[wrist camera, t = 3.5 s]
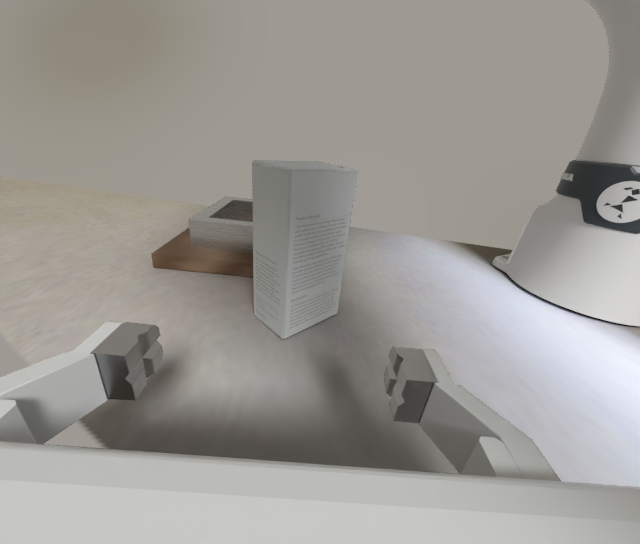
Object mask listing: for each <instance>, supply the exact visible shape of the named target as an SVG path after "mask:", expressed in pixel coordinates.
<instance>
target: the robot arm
mask: <svg viewBox="0 0 640 544" xmlns="http://www.w3.org/2000/svg"><path fill="white" fill-rule="evenodd" d="M586 1H587V2H589V3H590V5H591V6H592V7H593V8H594V9H595V10H596V12H597V13H598V15H599V17H600V18H601V20H602V22H603V25H604V27H605V30H606V34H607V38H608V44H609V67H608V73H607V79H606V82H605V86H604V90H603V93H602V96H601V98H600V102H599V104H598V107H597V110H596V113H595V115H594V118H593V120H592V123H591V125H590V128H589V130H588V133H587V135H586V137H585V140H584V142H583V144H582V147H581V149H580V151H579V153H578V155H577V157H576V160H581V161H576V160H575V161H574V160H573V161H571V162H570V163H569V165H568V166H567V169H566V170H565V172H563V175H562V176H561V181H560V183H559V185H558V187H557V190H556V191H557V192H558V195H557V196H556V197H555V198H553V199H552V200H551V201H549V202H548V203H546V204H544V205H541V206H539V207H537V208H534V209H533V210H532V211H531V213H530V215H529V217H528V219H527V221H526V223H525V225H524V228H523V229H522V232H521V234H520V236H519V238H518V240H517V242H516V244H515V246H514V248H513V250H512V252H511V254H506V255H502V256H497V257H495V258H494V260H493V262H492V264H493V265H494V266H496V267H497V268H499V269H501V270H502V271H504V272H505V273H507V274H508V275H509V276H510V278H511V279H512V280H513V281H515V282H516V283H517V284H518V285H520V286H521V287H523V288H524V289H526V290H528V291H529V292H531V293H533V294H535V295H537V296H539V297H541V298H543V299H545V300H548V301H550V302H552V303H554V304H557V305H559V306H562V307H564V308H567V309H570V310H573V311H576V312H578V313H582V314H585V315H588V316H591V317H595V318H598V319H602V320H606V321H610V322H615V323H619V324H625V325H631V326H640V0H586ZM587 161H589V162H587ZM159 336H160V332H159V327H157V326H156V325H148V324H139V323H130V322H120V321H108V322H106V323H105V324H104V325H102V326H101V327H100V328H99V329H98V330H97V331H95V332H94V333H93V334H92V335H91V336H89V337H88V338H87V339H86V340H85V341H84V342H82V343H81V344H80V345H79V346H78V347H77V348H75V349H74V350H73V351H72V352H64V353H61V354H59V355H56V356H54V357H51V358H49V359H46V360H43V361H41V362H38V363H36V364H33V365H31V366H28V367H26V368H23V369H21V370H18V371H15V372H13V373H10V374H8V375H5V376H3V377H0V544H640V487H632V486H617V485H603V484H589V483H575V482H561V480H560V479H559V477H558V476H557V474H556V473H555V472H554V470H553V469H552V467H551V466H550V464H549V463H548V461H547V460H546V459H545V457H544V456H543V454H542V453H541V451H540V450H539V449H538V447H537V446H536V444H535V443H534V441H533V440H532V439H531V438H530V437H528V436H527V435H526V434H524V433H523V432H522V431H520V430H519V429H518V428H516V427H515V426H514V425H512V424H511V423H510V422H508V421H507V420H506V419H504V418H503V417H502V416H500V415H499V414H498V413H496V412H495V411H494V410H492V409H491V408H490V407H488V406H487V405H486V404H484V403H483V402H482V401H480V400H479V399H478V398H476V397H475V396H474V395H472V394H471V393H470V392H468V391H467V390H466V389H464V388H463V387H462V386H460V385H455V383H454V381H453V380H452V378H451V376H450V374H449V372H448V371H447V369H446V367H445V365H444V363H443V361H442V360H441V358H440V356H439V354H438V352H437V351H436V350H434V349H414V348H402V347H392V348H391V350H390V354H389V357H390V361H391V362H390V363H388V364H387V365H386V369H385V375H384V383H385V389H386V393H387V394H388V395H389V396H390V397H391V398H390V402H389V405H390V409H391V413H392V417H393V420H394V421H401V422H410V423H419V426H420V427H421V428H422V429H423V430H424V432H425V433H426V434H427V435H428V436H429V437H430V439H431V440H432V441H433V442H434V443H435V445H436V446H437V447H438V448H439V449H440V451H441V452H442V453H443V454H444V455H445V456H446V458H447V459H448V460H449V461H450V462H451V464H452V465H453V466H454V467H455V468H456V469H457V471H458V472H459V473H460V474H450V473H436V472H422V471H409V470H395V469H381V468H367V467H353V466H339V465H325V464H311V463H297V462H283V461H269V460H255V459H241V458H227V457H213V456H200V455H186V454H172V453H158V452H144V451H130V450H116V449H102V448H88V447H74V446H60V445H45V444H43V443H45V442H46V441H48V440H49V439H51V438H52V437H54V436H55V435H57V434H58V433H60V432H61V431H62V430H64V429H66V428H67V427H69V426H70V425H72V424H73V423H75V422H76V421H78V420H79V419H81V418H82V417H84V416H85V415H87V414H88V413H90V412H91V411H93V410H94V409H96V408H97V407H98V406H100V405H101V404H103V403H104V402H106V401H107V399H119V400H136V399H137V398H138V396H139V395H140V393H141V392H142V391H143V389H144V388H145V386H146V385H147V379H146V378H147V377H149V376H151V375H153V374H154V373H155V372H156V371H157V369H158V368H159V366H160V363H161V360H162V355H163V350H162V345H161V344H160V343H159V342H158V341H157V339H158V338H159Z"/></svg>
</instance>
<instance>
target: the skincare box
mask: <svg viewBox="0 0 640 544" xmlns="http://www.w3.org/2000/svg"><path fill="white" fill-rule="evenodd" d="M356 179H357V170H355V169H353V168H348V167H343V166H339V165H334V164H330V163H324V162H318V161H317V162H316V161H313V162H312V161H311V162H310V161H309V162H308V161H307V162H305V161H304V162H303V161H298V162H297V161H266V160H265V161H264V160H254V161H253V162H252V185H253V296H254V315H255V316H256V317H257V318H258V319H259V320H260V321H262V322H263V323H264V324H265V325H266V326H268V327H269V328H270V329H271V330H272V331H273V332H274V333H276V334H277V335H278V336H279V337H280V338H282V339H286V338H288V337H290V336H292V335H294V334H296V333H298V332H300V331H302V330H304V329H306V328H308V327H310V326H312V325H314V324H316V323H319V322H321V321H323V320H325V319H327V318H329V317H331V316H333V315H335V314H337V312H338V306H339V299H340V292H341V285H342V278H343V270H344V263H345V256H346V250H347V242H348V235H349V229H350V221H351V214H352V207H353V201H354V194H355V187H356Z"/></svg>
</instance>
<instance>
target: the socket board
mask: <svg viewBox="0 0 640 544" xmlns="http://www.w3.org/2000/svg"><path fill="white" fill-rule="evenodd" d="M152 260H153V266H154V268H164V269H175V270H185V271H195V272H206V273H216V274H227V275H237V276H247V277H253V199H244V198H234V197H224V198H222V199H221V200H219V201H218V202H216V203H215V204H213V205H211V206H210V207H208V208H206V209H205V210H203V211H202V212H200V213H198V214H197V215H195V216H194V217H192V218H190V219H189V228H188V229H187V230H185V231H184V232H182V233H181V234H179V235H178V236H176V237H175V238H174V239H172V240H171V241H169V242H168V243H166V244H165V245H163V246H162V247H161V248H159V249H158V250H156V251H155V252H153V253H152Z"/></svg>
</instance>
